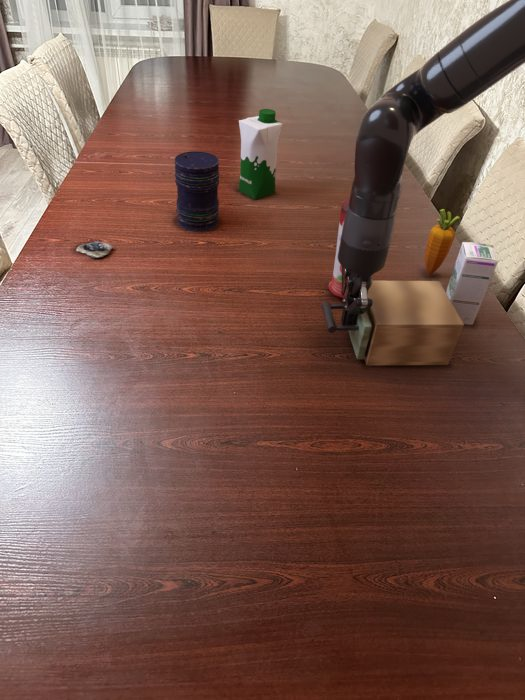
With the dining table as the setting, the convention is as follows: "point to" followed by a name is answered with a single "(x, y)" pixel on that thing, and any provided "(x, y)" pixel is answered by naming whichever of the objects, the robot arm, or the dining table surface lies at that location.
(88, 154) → the dining table surface
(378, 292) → the cabinet
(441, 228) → the carrot
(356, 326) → the drawer
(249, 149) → the milk carton
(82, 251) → the oyster shell
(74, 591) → the dining table surface
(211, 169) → the storage jar
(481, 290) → the syrup box
